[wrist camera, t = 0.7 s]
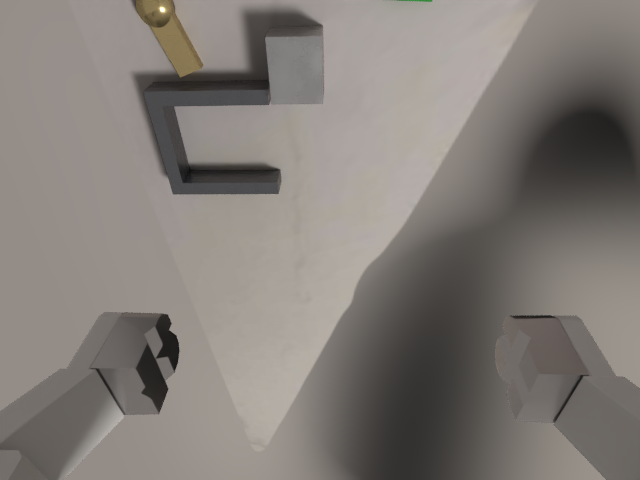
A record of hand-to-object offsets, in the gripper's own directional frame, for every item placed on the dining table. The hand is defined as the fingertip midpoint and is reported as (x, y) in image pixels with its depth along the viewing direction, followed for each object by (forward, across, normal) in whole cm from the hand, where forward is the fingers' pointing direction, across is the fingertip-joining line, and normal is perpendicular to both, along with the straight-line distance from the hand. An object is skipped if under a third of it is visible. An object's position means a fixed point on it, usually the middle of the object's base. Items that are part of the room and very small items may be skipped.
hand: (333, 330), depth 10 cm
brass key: (+37, +16, +1) cm, 41 cm away
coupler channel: (+37, +12, +11) cm, 41 cm away
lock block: (+37, +4, +3) cm, 38 cm away
